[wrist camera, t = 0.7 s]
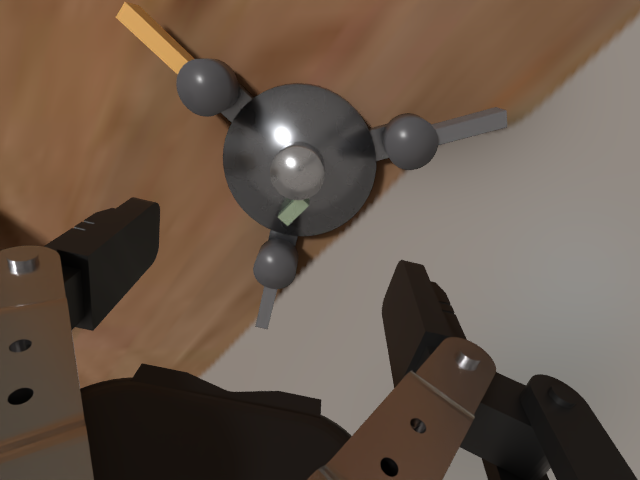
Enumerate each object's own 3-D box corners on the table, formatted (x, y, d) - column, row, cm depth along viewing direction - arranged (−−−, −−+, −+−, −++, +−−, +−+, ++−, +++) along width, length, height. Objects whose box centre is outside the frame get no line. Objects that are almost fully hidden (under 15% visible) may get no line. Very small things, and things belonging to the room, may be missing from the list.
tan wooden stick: (248, 85, 33) (240, 88, 30) (219, 121, 34) (208, 127, 31) (152, -9, 30) (133, -16, 27) (124, 35, 31) (103, 32, 28)
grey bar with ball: (387, 165, 36) (391, 175, 33) (377, 120, 34) (382, 126, 31) (494, 137, 34) (509, 145, 31) (491, 88, 32) (506, 91, 29)
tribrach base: (286, -25, 30) (280, -37, 26) (431, 139, 36) (442, 149, 32) (147, 158, 37) (127, 169, 34) (285, 271, 43) (280, 291, 39)
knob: (262, 234, 39) (257, 248, 37) (302, 244, 40) (299, 258, 37) (247, 308, 44) (241, 325, 41) (283, 316, 44) (279, 333, 41)
